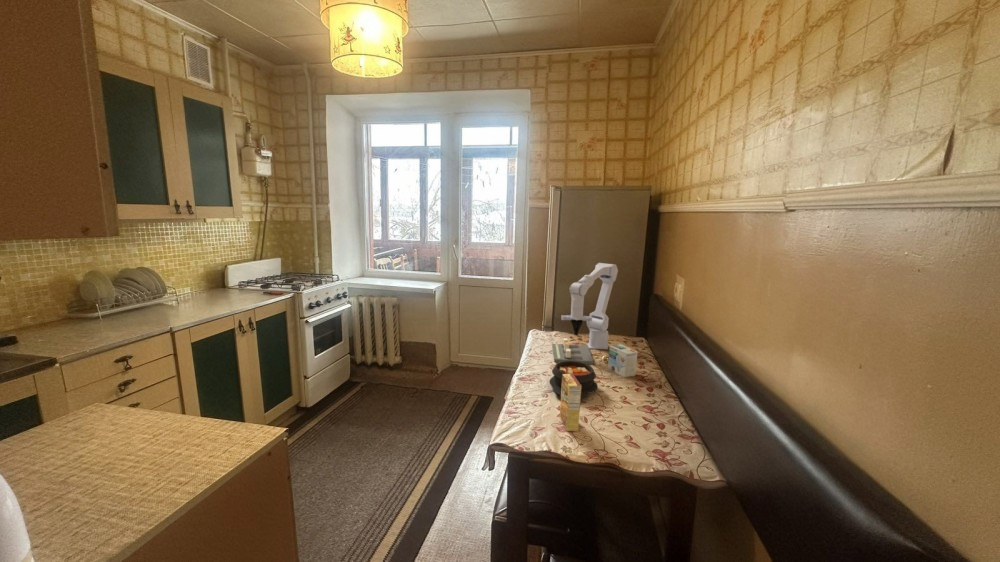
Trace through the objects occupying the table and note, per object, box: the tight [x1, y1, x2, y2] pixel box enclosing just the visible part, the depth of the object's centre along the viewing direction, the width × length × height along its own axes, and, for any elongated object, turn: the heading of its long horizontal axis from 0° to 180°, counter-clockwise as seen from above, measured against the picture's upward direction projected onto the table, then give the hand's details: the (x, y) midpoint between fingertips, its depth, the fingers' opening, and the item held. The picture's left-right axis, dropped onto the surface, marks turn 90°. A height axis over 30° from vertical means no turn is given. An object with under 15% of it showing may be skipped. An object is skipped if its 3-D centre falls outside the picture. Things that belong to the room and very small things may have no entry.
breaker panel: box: [551, 337, 595, 365], centre depth 183 cm, size 18×22×5 cm
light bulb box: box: [607, 343, 638, 378], centre depth 163 cm, size 11×7×11 cm, turn 25°
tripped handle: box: [564, 342, 570, 352], centre depth 183 cm, size 2×3×4 cm, turn 175°
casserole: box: [549, 361, 598, 399], centre depth 147 cm, size 25×19×8 cm
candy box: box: [559, 374, 582, 432], centre depth 120 cm, size 9×4×15 cm, turn 6°
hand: (575, 334), depth 182 cm, fingers closed
